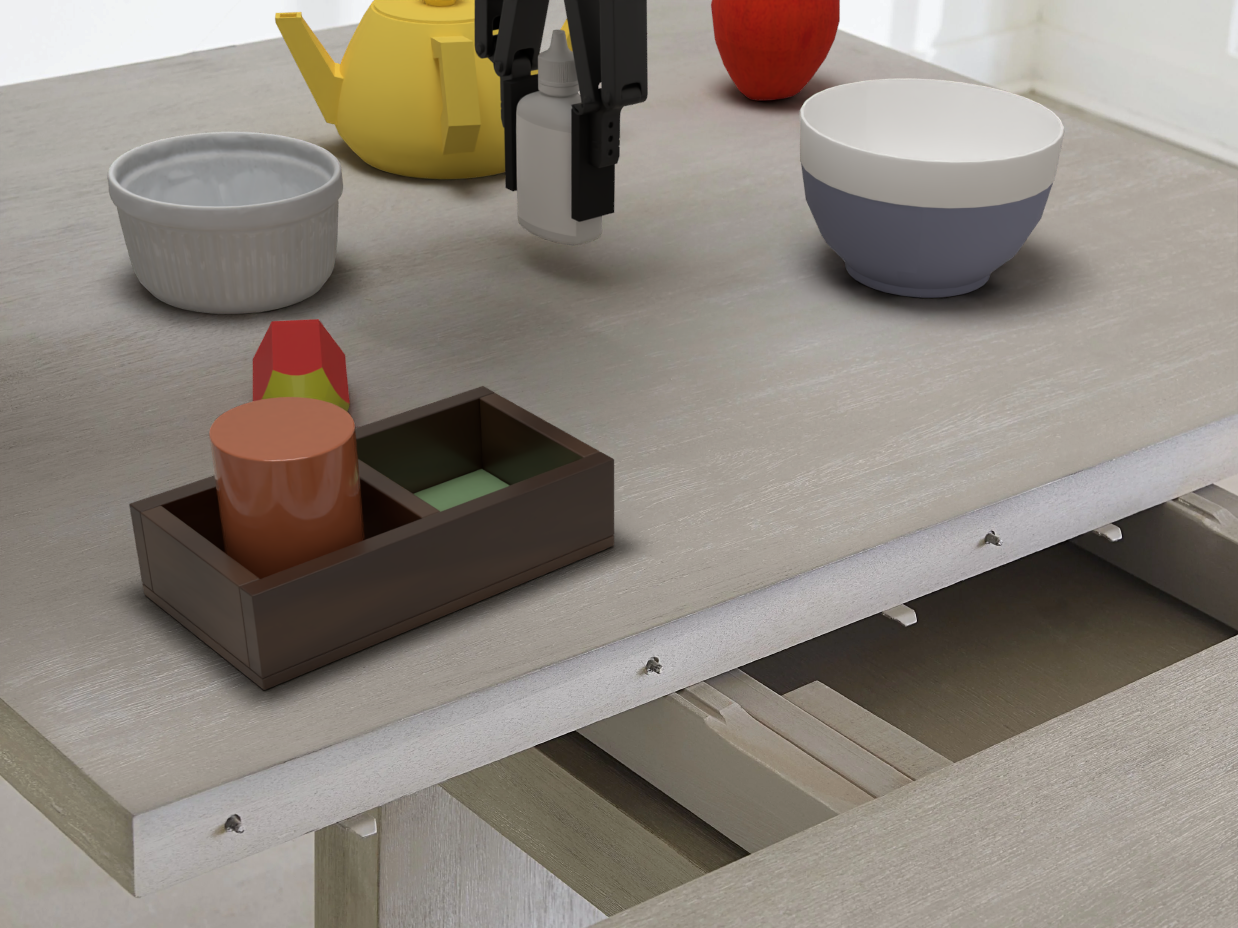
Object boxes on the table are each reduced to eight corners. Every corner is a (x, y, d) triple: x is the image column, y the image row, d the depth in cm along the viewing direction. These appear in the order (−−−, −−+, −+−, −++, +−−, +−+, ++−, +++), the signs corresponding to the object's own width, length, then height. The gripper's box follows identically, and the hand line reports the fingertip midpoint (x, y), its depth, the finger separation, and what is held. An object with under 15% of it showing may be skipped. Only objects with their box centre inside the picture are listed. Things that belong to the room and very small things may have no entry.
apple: (802, 125, 143) (812, -46, 136) (684, 103, 146) (688, -66, 139) (854, 91, 150) (866, -73, 143) (741, 70, 153) (747, -91, 146)
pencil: (257, 502, 92) (248, 425, 90) (256, 395, 102) (248, 322, 99) (358, 496, 93) (351, 419, 91) (348, 390, 103) (341, 317, 100)
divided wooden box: (143, 594, 85) (128, 503, 82) (486, 468, 96) (483, 384, 93) (264, 690, 79) (252, 596, 77) (614, 545, 90) (614, 458, 88)
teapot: (432, 96, 145) (422, -71, 138) (614, 141, 138) (613, -32, 131) (278, 155, 133) (260, -24, 126) (469, 207, 126) (460, 21, 119)
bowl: (872, 337, 111) (885, 176, 106) (746, 243, 123) (752, 93, 117) (1095, 297, 118) (1118, 143, 112) (955, 211, 129) (971, 67, 123)
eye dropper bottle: (537, 251, 114) (535, 46, 107) (512, 218, 118) (508, 19, 112) (607, 245, 116) (609, 42, 109) (580, 213, 120) (580, 16, 113)
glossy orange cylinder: (204, 585, 85) (181, 422, 80) (320, 543, 88) (304, 383, 84) (278, 642, 81) (258, 474, 77) (395, 595, 85) (383, 432, 80)
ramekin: (388, 259, 118) (381, 147, 114) (283, 340, 108) (270, 221, 104) (198, 227, 121) (184, 118, 117) (78, 303, 111) (58, 186, 107)
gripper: (726, -198, 99) (708, 232, 113) (506, -252, 110) (514, 147, 123) (616, -187, 95) (610, 260, 108) (398, -243, 106) (417, 169, 119)
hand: (559, 199), depth 116 cm, fingers closed on eye dropper bottle, 6 cm apart
